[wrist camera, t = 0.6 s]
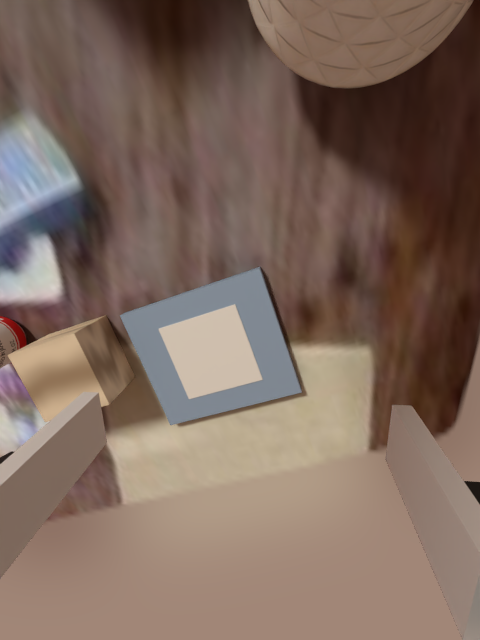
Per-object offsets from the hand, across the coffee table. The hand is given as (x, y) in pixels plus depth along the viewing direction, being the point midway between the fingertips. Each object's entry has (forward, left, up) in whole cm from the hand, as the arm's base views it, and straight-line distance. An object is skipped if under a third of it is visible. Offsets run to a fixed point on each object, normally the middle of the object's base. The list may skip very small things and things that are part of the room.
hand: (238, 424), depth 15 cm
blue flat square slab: (+4, -8, -25) cm, 27 cm away
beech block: (0, -24, -25) cm, 35 cm away
